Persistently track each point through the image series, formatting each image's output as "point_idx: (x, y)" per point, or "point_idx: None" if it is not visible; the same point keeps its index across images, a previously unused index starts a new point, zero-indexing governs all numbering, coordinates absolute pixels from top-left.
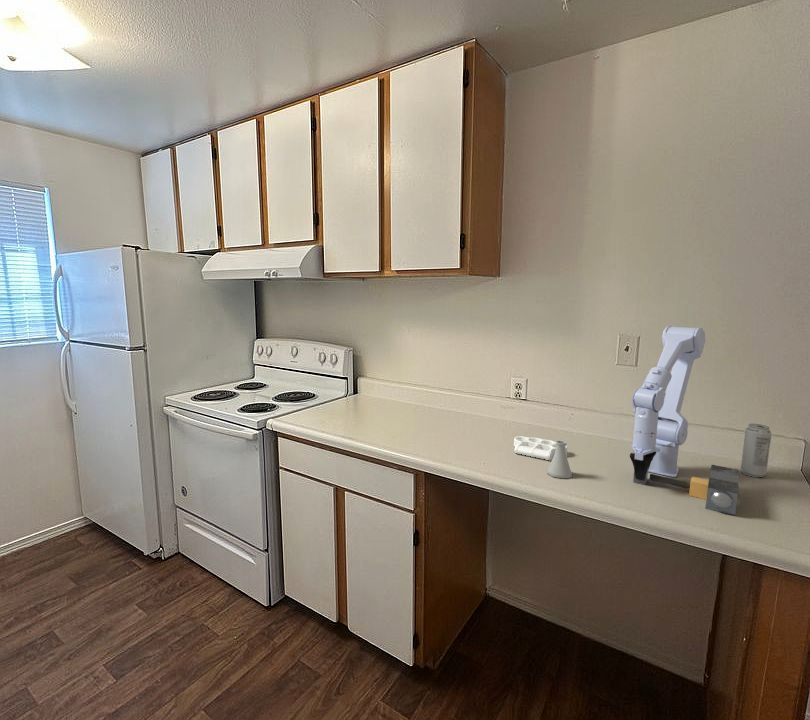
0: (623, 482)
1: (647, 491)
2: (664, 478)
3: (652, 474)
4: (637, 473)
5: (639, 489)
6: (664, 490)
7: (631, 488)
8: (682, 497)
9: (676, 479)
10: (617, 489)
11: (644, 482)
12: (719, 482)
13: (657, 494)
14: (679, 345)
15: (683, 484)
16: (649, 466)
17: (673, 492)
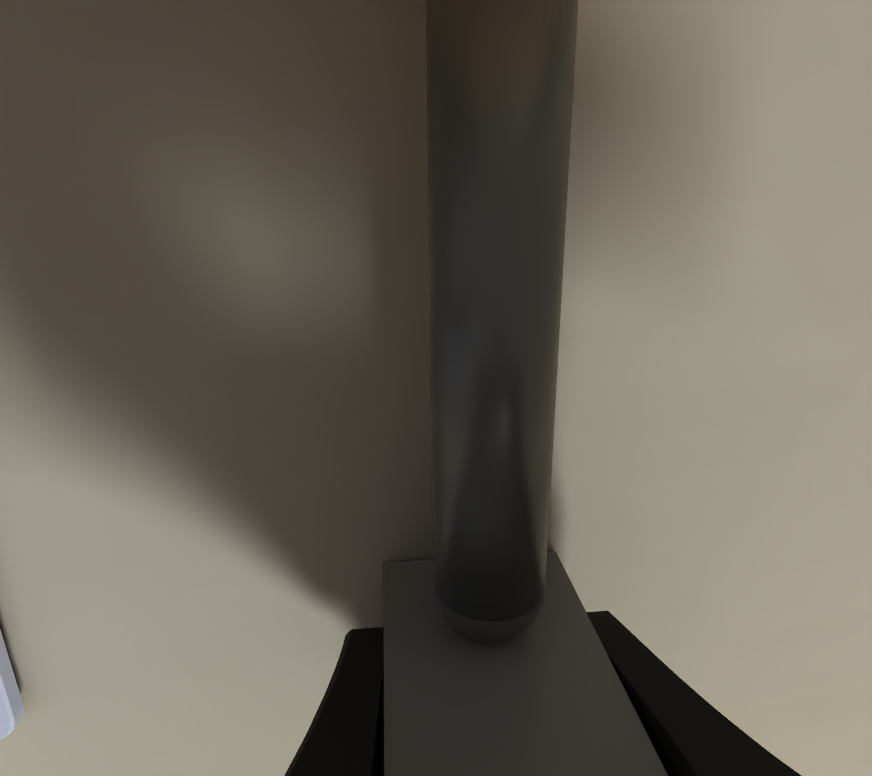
0: None
1: (761, 483)
2: (541, 387)
3: (507, 590)
4: None
5: (743, 565)
6: (601, 314)
7: (759, 634)
8: (742, 37)
9: (494, 167)
10: (860, 722)
11: (562, 579)
12: None
13: (802, 367)
14: None
15: (576, 6)
16: (334, 747)
17: (606, 189)
